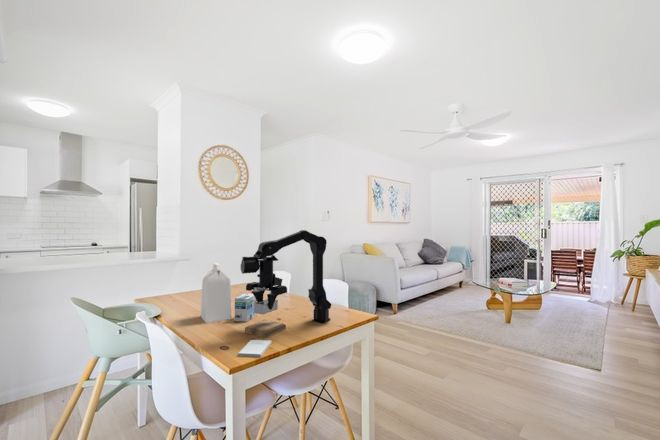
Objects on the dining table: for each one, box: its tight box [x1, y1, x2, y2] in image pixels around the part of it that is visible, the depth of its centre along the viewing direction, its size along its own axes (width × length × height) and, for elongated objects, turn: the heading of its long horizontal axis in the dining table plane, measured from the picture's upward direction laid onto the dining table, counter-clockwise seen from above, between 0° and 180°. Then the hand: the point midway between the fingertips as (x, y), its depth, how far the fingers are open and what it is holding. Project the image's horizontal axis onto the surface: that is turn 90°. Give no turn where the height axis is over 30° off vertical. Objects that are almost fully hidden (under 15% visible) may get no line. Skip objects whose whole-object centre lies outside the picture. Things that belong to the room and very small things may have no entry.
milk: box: [200, 262, 233, 324], centre depth 143 cm, size 12×12×26 cm
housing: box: [254, 298, 279, 315], centre depth 126 cm, size 9×5×5 cm, turn 150°
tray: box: [244, 319, 287, 339], centre depth 125 cm, size 12×12×2 cm
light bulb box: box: [234, 293, 258, 323], centre depth 143 cm, size 11×7×11 cm, turn 168°
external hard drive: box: [237, 339, 272, 358], centre depth 106 cm, size 2×8×12 cm
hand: (266, 308), depth 126 cm, fingers closed on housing, 5 cm apart
